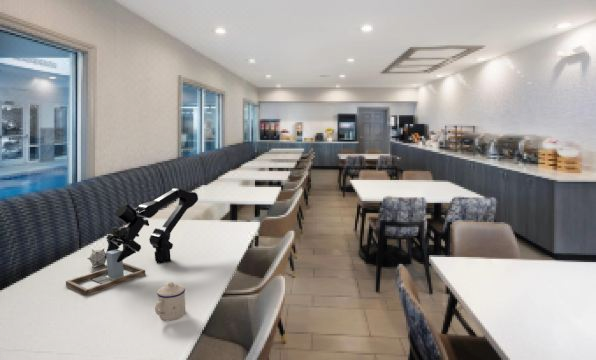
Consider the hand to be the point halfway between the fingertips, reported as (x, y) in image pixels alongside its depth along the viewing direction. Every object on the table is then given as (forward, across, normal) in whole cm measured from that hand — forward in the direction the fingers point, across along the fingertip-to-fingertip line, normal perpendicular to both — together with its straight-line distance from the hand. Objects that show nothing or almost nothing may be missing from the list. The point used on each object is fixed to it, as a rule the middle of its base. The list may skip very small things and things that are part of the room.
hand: (111, 259), depth 167 cm
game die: (+3, -19, +9) cm, 21 cm away
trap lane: (+7, 0, +4) cm, 8 cm away
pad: (+5, 0, +7) cm, 8 cm away
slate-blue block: (+4, 0, +6) cm, 8 cm away
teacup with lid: (+11, +49, 0) cm, 50 cm away
